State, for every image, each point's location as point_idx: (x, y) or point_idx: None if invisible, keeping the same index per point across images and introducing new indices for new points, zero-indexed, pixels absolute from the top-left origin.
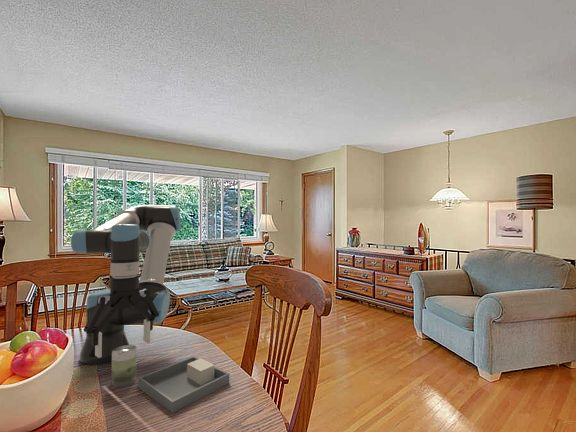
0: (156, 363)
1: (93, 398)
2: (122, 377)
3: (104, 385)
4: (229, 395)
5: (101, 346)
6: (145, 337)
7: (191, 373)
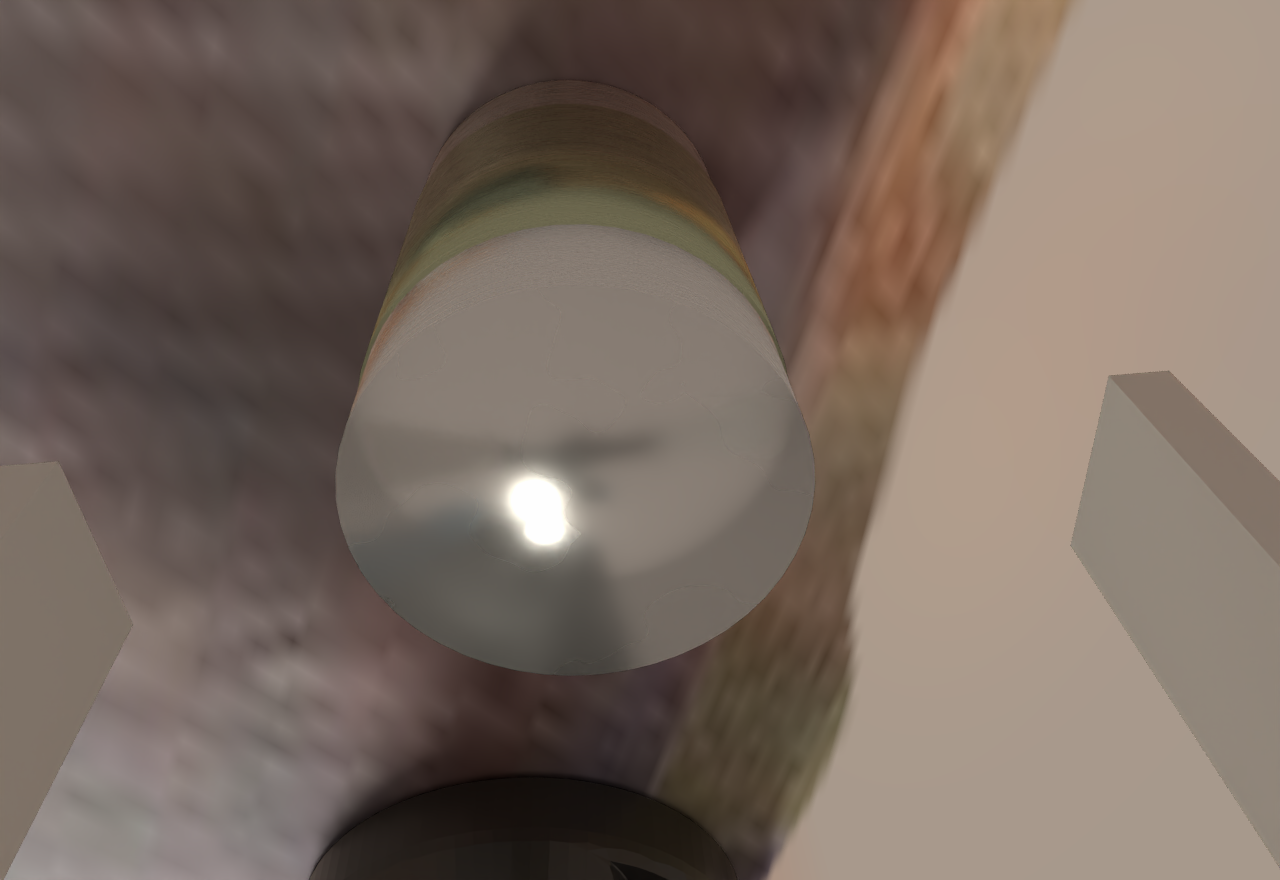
0: (74, 472)
1: (958, 142)
2: (650, 141)
3: None
4: None
5: (1248, 519)
6: (55, 628)
7: None
